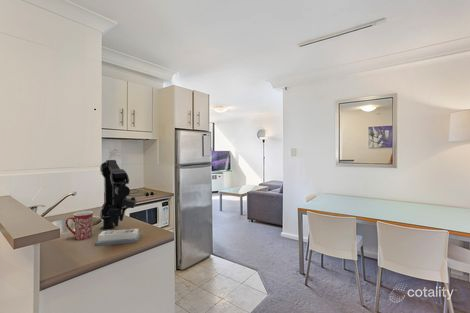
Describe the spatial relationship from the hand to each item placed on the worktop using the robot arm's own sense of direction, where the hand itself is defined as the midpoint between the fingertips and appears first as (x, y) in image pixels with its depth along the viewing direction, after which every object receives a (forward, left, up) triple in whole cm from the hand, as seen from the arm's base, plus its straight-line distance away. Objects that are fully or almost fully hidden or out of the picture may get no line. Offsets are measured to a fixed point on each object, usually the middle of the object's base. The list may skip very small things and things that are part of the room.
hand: (119, 223), depth 119 cm
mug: (-9, -22, -9) cm, 26 cm away
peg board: (0, 0, -9) cm, 9 cm away
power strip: (0, 0, -8) cm, 8 cm away
